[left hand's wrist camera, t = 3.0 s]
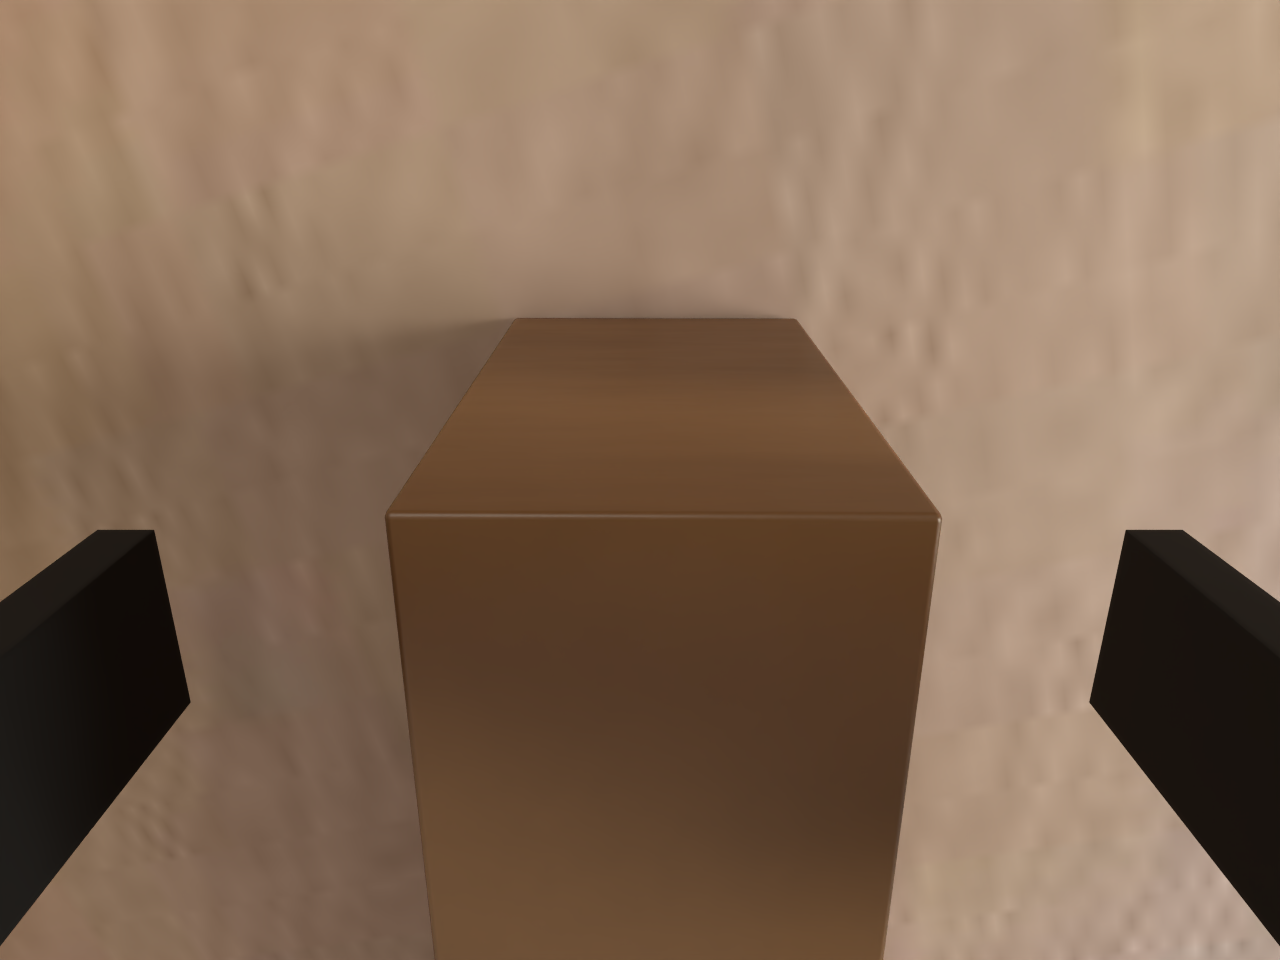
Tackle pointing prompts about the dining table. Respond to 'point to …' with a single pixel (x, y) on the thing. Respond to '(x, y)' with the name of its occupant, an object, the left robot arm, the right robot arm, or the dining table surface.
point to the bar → (660, 648)
